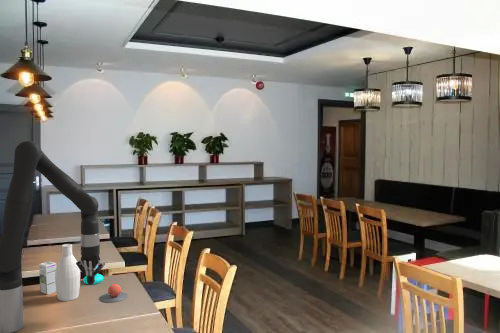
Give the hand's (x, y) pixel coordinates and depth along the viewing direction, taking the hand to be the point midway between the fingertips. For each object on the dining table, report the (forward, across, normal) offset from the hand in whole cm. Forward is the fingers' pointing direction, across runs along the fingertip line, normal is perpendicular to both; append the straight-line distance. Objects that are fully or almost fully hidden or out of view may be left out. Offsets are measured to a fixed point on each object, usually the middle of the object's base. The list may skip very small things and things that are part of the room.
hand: (90, 283), depth 181 cm
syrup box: (+14, +37, -20) cm, 44 cm away
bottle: (+14, +23, -15) cm, 31 cm away
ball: (+11, +2, -22) cm, 25 cm away
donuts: (+14, +24, -38) cm, 47 cm away
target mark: (+14, +2, -21) cm, 25 cm away
